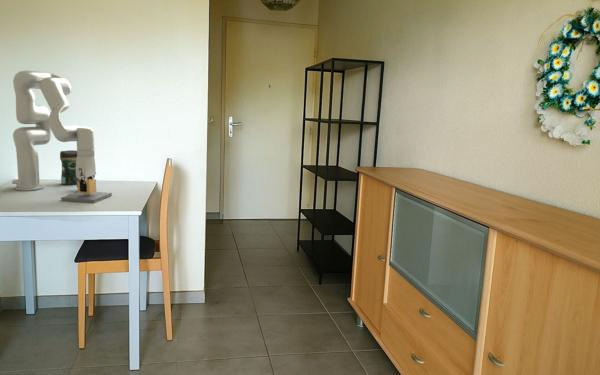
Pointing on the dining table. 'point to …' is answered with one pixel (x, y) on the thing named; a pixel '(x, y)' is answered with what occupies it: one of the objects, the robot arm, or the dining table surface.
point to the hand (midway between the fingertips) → (87, 190)
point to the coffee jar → (68, 167)
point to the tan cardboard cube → (88, 186)
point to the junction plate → (86, 197)
